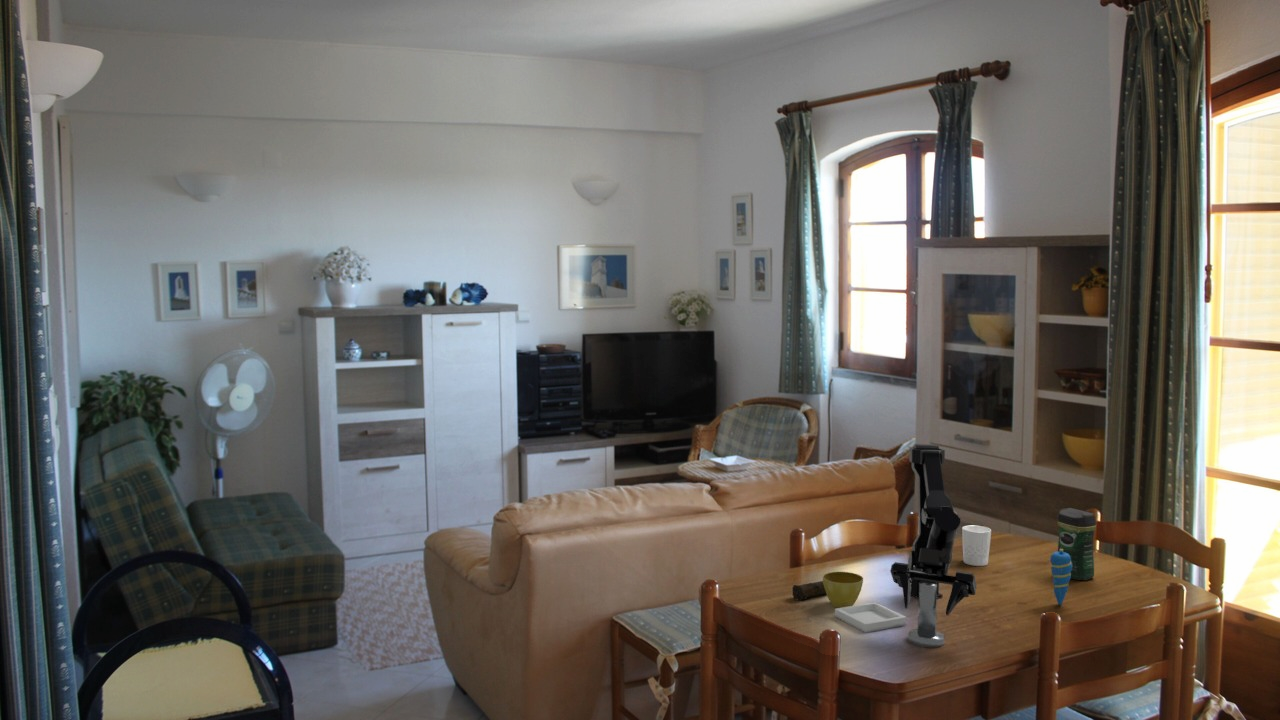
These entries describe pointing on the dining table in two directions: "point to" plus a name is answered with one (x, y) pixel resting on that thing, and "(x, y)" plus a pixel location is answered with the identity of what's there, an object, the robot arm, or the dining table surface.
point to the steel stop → (927, 618)
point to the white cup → (976, 544)
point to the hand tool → (808, 590)
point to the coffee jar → (1077, 540)
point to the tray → (870, 617)
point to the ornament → (1061, 573)
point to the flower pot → (842, 588)
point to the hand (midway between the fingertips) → (926, 611)
